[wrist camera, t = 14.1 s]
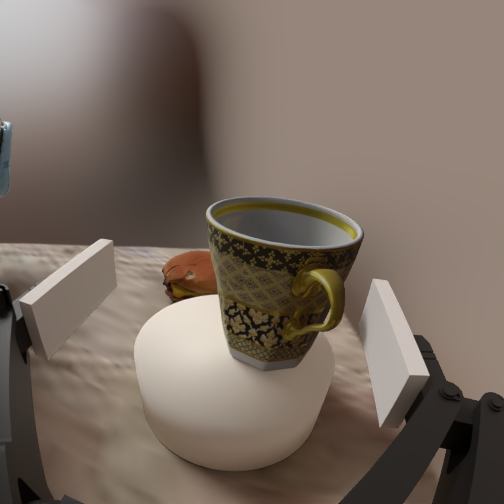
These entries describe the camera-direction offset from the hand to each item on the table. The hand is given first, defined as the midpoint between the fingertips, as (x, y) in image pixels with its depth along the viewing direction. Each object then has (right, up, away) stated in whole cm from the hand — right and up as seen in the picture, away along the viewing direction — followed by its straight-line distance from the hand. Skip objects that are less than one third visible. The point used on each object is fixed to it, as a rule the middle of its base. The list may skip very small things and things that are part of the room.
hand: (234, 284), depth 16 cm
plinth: (-1, -11, +10) cm, 15 cm away
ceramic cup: (+2, -6, +8) cm, 10 cm away
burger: (-6, -4, +26) cm, 27 cm away
